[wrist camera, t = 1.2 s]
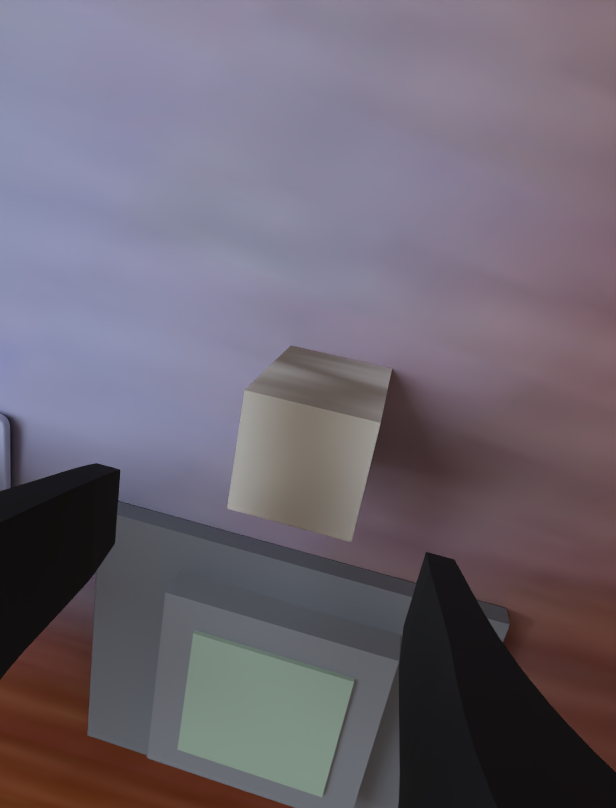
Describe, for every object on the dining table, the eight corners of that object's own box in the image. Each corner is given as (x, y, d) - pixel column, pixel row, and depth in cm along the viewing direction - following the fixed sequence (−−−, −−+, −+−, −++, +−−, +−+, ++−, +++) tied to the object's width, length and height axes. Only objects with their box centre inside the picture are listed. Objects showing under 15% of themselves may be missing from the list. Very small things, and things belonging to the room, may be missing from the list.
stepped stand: (97, 719, 30) (68, 764, 28) (112, 499, 25) (77, 530, 23) (422, 826, 28) (422, 886, 26) (506, 608, 23) (516, 655, 21)
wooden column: (274, 437, 23) (227, 508, 17) (291, 345, 22) (244, 390, 16) (369, 461, 22) (351, 542, 17) (392, 368, 21) (380, 422, 15)
